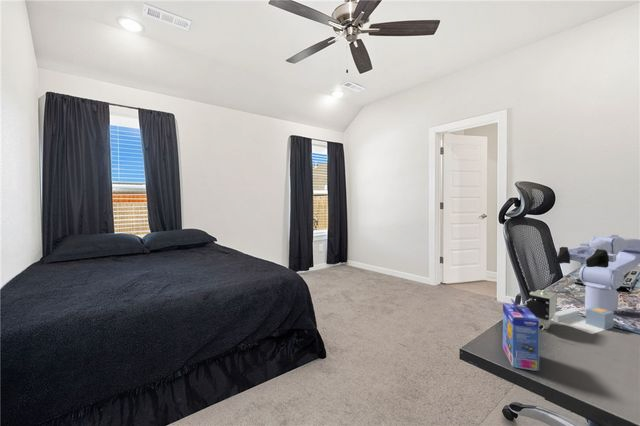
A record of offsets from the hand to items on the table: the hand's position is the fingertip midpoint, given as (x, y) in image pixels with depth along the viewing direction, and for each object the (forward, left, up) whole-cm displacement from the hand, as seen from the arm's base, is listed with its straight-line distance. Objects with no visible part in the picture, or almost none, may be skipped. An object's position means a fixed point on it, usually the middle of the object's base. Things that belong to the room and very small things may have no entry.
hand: (572, 262), depth 91 cm
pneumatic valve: (+13, -1, -20) cm, 24 cm away
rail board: (0, +3, -20) cm, 20 cm away
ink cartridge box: (+36, +7, -20) cm, 42 cm away
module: (-4, +6, -19) cm, 20 cm away
